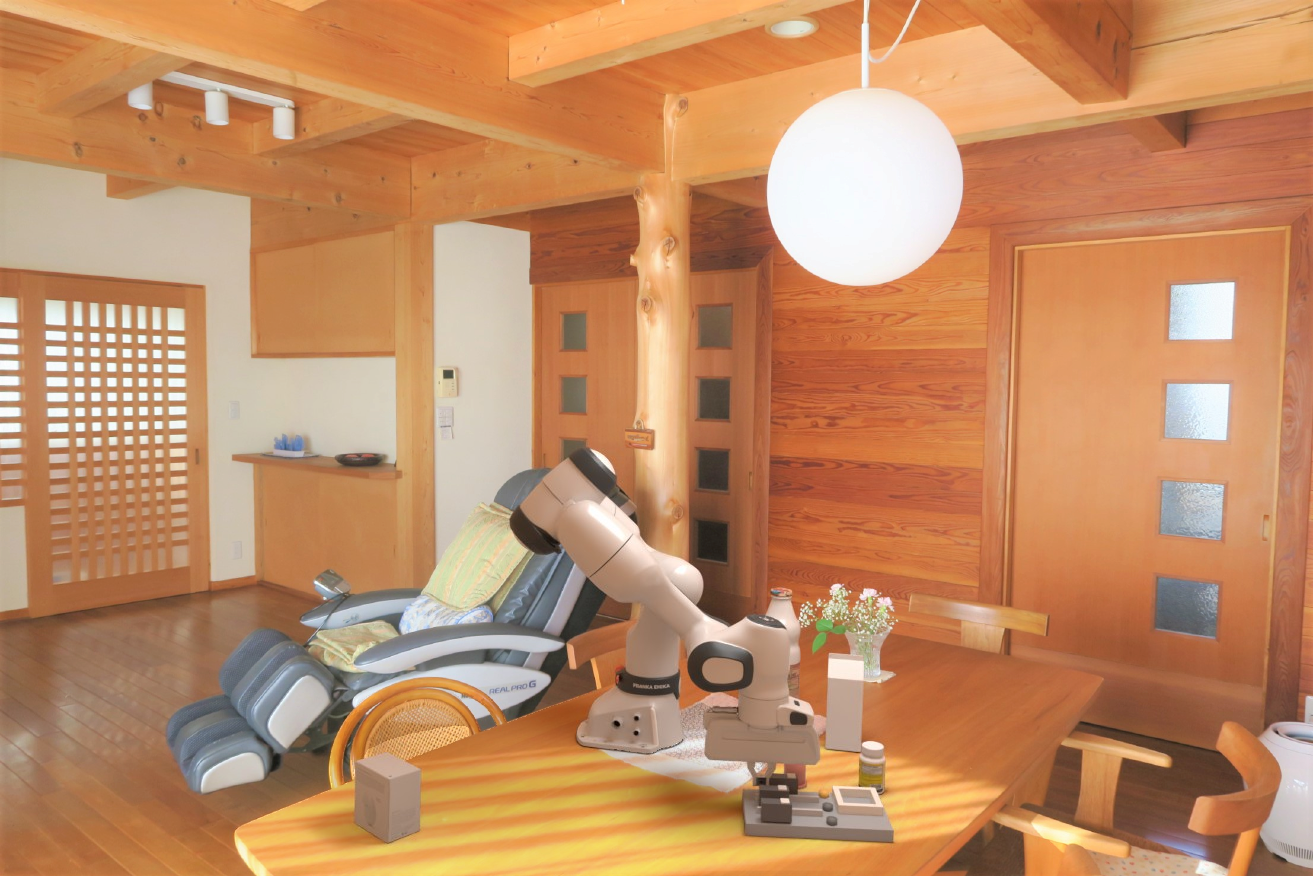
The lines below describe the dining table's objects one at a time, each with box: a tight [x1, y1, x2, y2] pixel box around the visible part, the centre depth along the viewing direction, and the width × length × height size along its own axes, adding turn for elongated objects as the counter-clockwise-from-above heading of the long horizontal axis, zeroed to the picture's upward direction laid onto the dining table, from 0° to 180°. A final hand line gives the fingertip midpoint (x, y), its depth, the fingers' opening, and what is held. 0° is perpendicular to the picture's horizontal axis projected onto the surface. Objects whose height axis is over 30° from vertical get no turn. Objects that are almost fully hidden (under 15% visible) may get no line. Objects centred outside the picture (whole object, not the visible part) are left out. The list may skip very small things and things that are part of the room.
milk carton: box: [824, 652, 865, 753], centre depth 190 cm, size 7×7×19 cm
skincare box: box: [353, 751, 422, 844], centre depth 151 cm, size 10×6×10 cm, turn 48°
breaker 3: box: [760, 798, 792, 823], centre depth 152 cm, size 5×2×3 cm, turn 87°
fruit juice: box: [765, 587, 802, 700], centre depth 208 cm, size 9×9×28 cm
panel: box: [741, 785, 894, 843], centre depth 157 cm, size 24×13×4 cm, turn 87°
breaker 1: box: [769, 772, 799, 795], centre depth 162 cm, size 5×2×3 cm, turn 87°
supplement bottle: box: [857, 740, 887, 796], centre depth 169 cm, size 5×5×8 cm
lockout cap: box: [783, 764, 808, 791], centre depth 171 cm, size 5×5×6 cm
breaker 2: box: [758, 785, 789, 806], centre depth 157 cm, size 5×2×3 cm, turn 87°
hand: (760, 785), depth 162 cm, fingers closed
